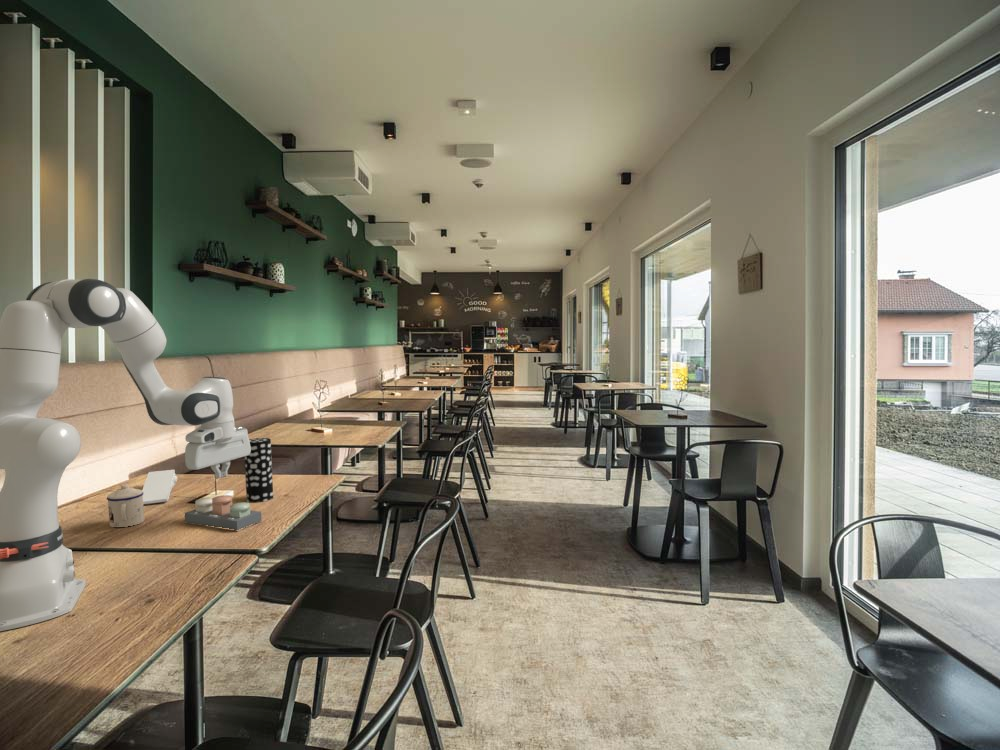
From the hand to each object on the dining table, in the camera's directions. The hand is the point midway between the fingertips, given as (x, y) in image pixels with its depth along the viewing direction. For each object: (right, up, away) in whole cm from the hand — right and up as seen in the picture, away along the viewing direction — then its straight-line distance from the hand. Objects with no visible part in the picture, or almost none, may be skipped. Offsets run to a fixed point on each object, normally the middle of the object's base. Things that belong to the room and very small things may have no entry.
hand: (221, 477), depth 168 cm
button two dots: (+7, -13, -2) cm, 14 cm away
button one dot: (-6, -12, +4) cm, 14 cm away
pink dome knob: (0, -11, +1) cm, 11 cm away
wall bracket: (-38, -12, +31) cm, 51 cm away
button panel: (0, -14, +1) cm, 14 cm away
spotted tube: (+1, -12, +24) cm, 27 cm away
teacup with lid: (-28, -14, 0) cm, 31 cm away
